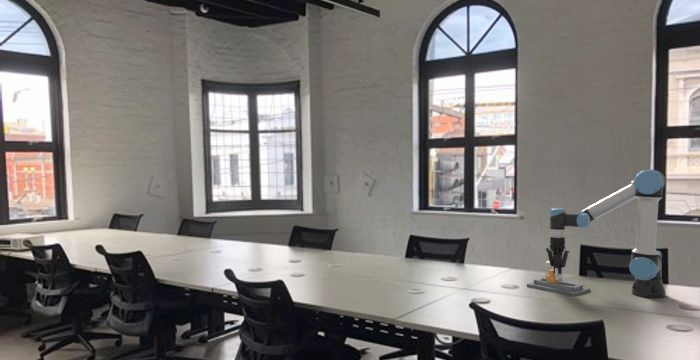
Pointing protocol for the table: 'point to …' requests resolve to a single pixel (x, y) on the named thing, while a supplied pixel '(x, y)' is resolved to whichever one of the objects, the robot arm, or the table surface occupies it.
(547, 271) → the ink box
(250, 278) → the table surface
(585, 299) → the table surface
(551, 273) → the toggle
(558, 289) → the panel
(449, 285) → the table surface
